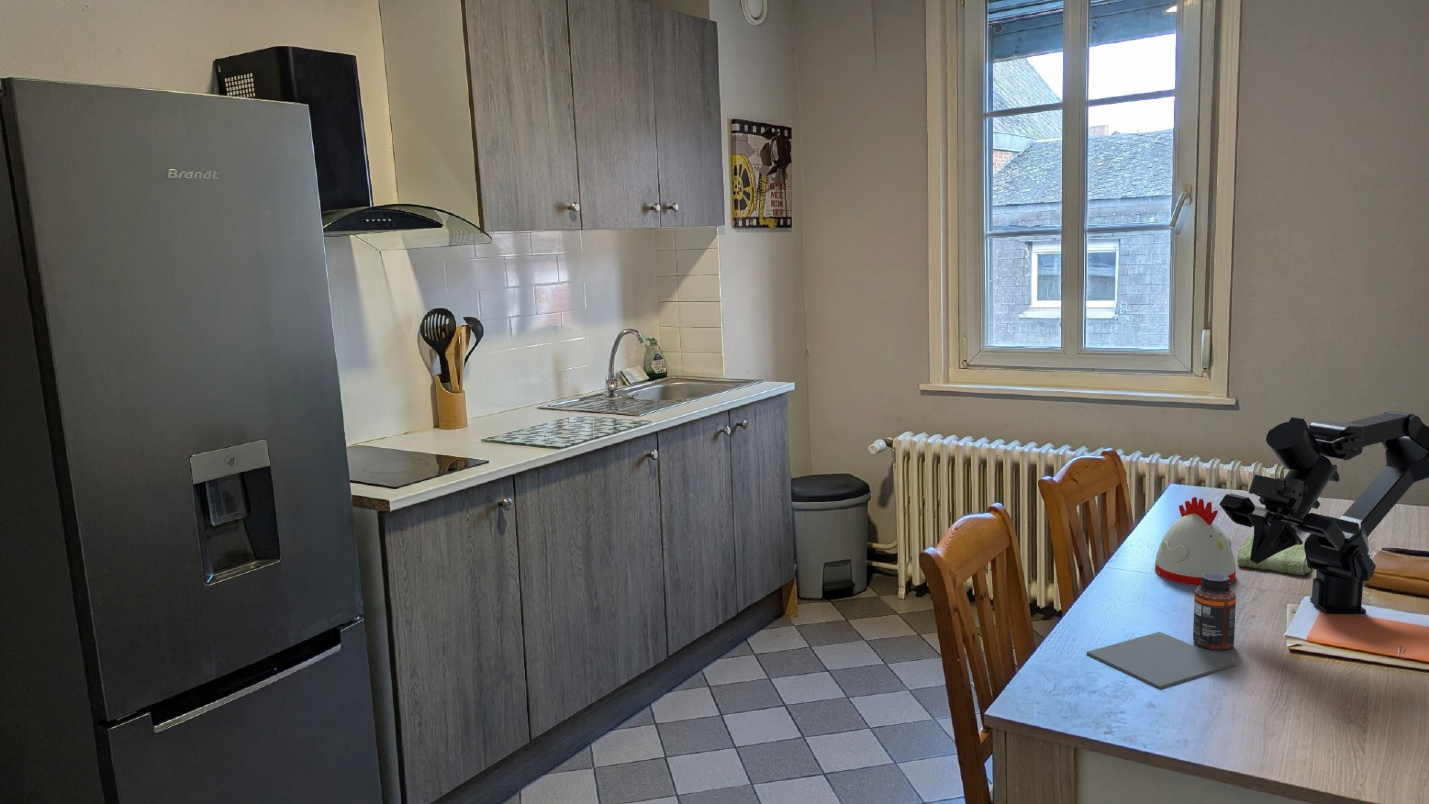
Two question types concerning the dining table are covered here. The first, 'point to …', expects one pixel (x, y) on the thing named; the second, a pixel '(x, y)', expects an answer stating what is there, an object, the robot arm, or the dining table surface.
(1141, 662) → the mat
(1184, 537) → the kitchen timer
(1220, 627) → the supplement bottle
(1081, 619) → the dining table surface
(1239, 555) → the washcloth
